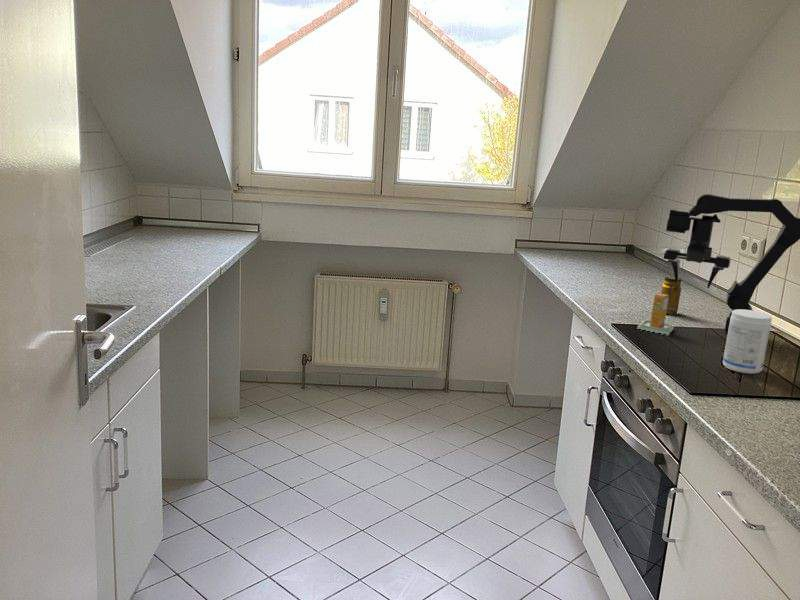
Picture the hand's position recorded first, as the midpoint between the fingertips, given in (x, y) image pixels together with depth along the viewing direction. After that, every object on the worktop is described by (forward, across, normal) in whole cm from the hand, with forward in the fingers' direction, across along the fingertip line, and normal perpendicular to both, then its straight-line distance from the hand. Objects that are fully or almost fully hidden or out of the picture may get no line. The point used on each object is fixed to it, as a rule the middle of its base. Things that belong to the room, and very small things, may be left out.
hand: (692, 285), depth 232 cm
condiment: (+13, -7, +16) cm, 22 cm away
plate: (+13, -7, -12) cm, 19 cm away
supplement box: (+12, -7, -13) cm, 19 cm away
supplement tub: (+13, +19, -38) cm, 45 cm away
